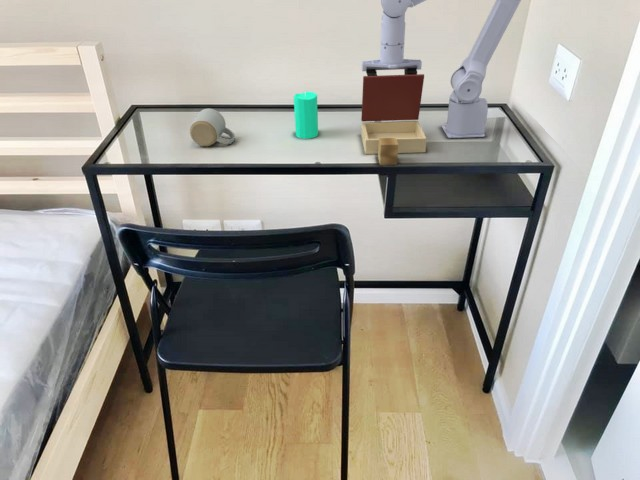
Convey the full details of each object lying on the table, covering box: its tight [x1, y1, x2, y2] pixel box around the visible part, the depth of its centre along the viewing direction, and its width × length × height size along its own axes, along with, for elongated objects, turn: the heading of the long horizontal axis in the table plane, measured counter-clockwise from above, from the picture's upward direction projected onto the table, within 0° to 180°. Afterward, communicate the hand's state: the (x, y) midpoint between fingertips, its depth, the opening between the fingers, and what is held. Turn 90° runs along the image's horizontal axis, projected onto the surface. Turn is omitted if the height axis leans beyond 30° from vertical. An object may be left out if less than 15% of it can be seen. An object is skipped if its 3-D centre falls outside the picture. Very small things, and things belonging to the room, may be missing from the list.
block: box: [377, 138, 399, 166], centre depth 124 cm, size 4×4×5 cm
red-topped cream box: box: [360, 120, 428, 155], centre depth 133 cm, size 12×15×4 cm
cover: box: [360, 73, 425, 122], centre depth 133 cm, size 13×15×5 cm
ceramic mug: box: [189, 108, 236, 147], centre depth 136 cm, size 11×8×8 cm
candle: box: [293, 91, 319, 140], centre depth 137 cm, size 6×6×12 cm
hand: (389, 98), depth 135 cm, fingers open, 7 cm apart
